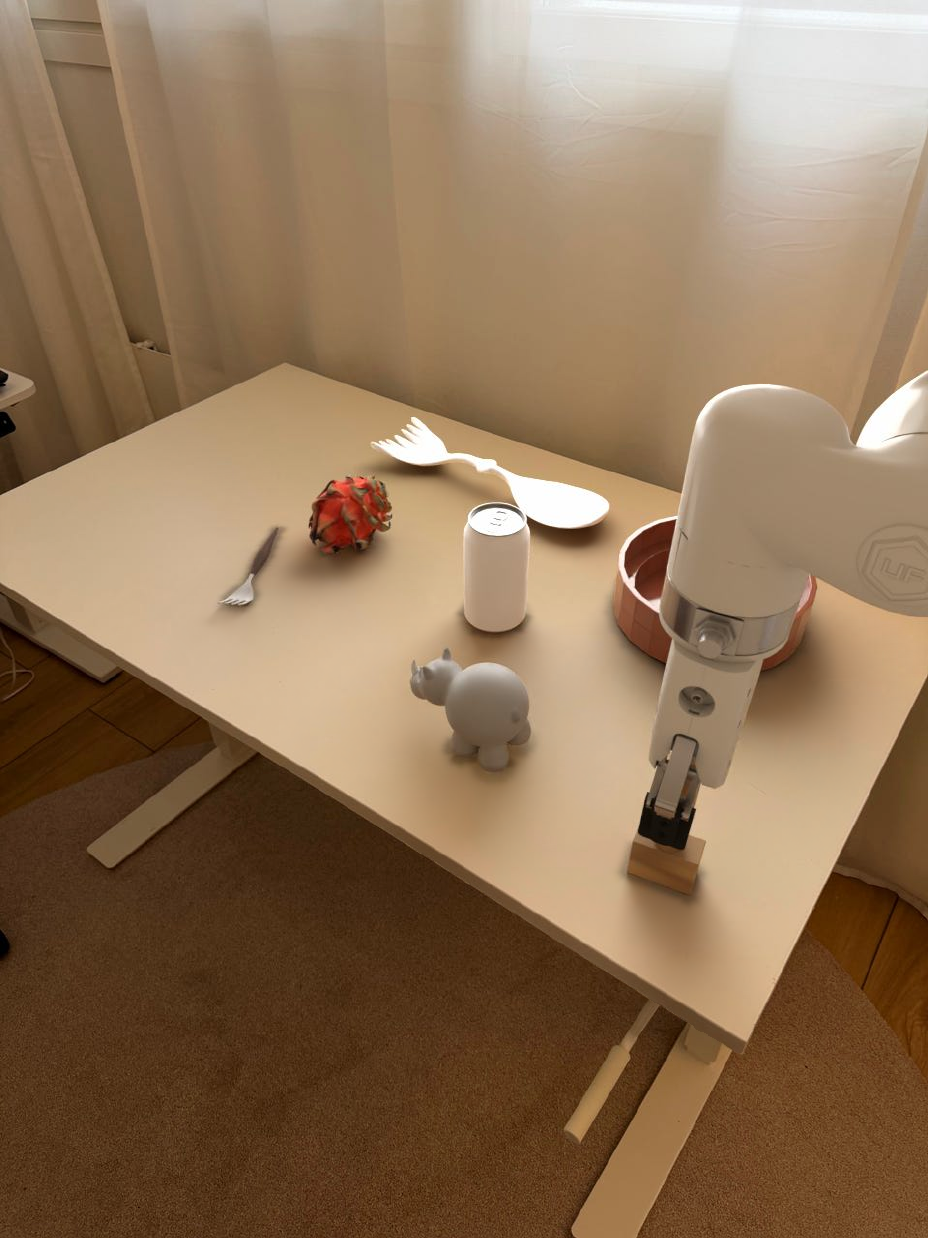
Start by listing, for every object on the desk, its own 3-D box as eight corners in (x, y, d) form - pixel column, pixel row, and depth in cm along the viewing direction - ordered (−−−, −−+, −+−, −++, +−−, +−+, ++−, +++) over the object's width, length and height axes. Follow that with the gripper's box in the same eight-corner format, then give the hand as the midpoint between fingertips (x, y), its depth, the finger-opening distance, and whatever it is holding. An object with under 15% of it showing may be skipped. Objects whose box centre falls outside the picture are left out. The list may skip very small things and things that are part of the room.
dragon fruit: (396, 528, 108) (328, 588, 102) (347, 476, 107) (275, 533, 101) (421, 498, 100) (348, 561, 94) (368, 442, 100) (292, 502, 94)
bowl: (814, 585, 96) (829, 540, 92) (784, 703, 83) (799, 656, 79) (641, 542, 102) (648, 498, 98) (587, 645, 89) (593, 599, 85)
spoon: (413, 435, 121) (412, 412, 119) (620, 515, 107) (624, 490, 104) (369, 463, 116) (367, 439, 114) (581, 551, 101) (584, 525, 99)
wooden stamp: (697, 870, 70) (732, 752, 60) (690, 895, 68) (724, 777, 59) (635, 848, 71) (659, 729, 62) (626, 872, 69) (650, 753, 60)
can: (454, 625, 92) (452, 529, 84) (477, 588, 96) (477, 494, 88) (513, 641, 90) (517, 544, 82) (534, 603, 94) (540, 507, 86)
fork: (289, 532, 105) (287, 517, 103) (243, 619, 93) (239, 604, 91) (267, 530, 105) (265, 515, 104) (219, 617, 93) (215, 602, 92)
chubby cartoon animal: (440, 679, 86) (438, 612, 80) (543, 738, 80) (548, 669, 74) (389, 723, 81) (383, 655, 76) (494, 788, 76) (496, 719, 70)
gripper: (766, 721, 45) (704, 907, 56) (816, 537, 56) (756, 721, 68) (621, 677, 47) (589, 864, 58) (698, 508, 59) (660, 691, 70)
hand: (679, 786), depth 63 cm, fingers open, 9 cm apart
